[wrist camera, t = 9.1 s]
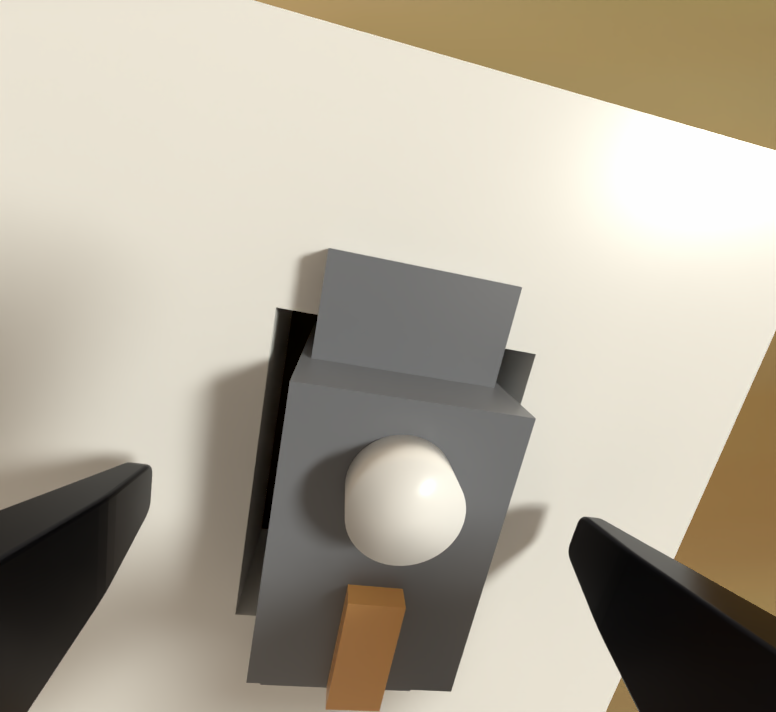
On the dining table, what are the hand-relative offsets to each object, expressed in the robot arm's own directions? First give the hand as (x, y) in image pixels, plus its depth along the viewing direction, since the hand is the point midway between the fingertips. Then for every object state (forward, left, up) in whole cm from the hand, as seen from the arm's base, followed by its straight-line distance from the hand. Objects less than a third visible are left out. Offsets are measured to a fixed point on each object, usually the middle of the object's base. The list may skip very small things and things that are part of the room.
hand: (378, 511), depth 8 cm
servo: (0, 0, -4) cm, 4 cm away
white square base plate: (0, 0, -4) cm, 4 cm away
